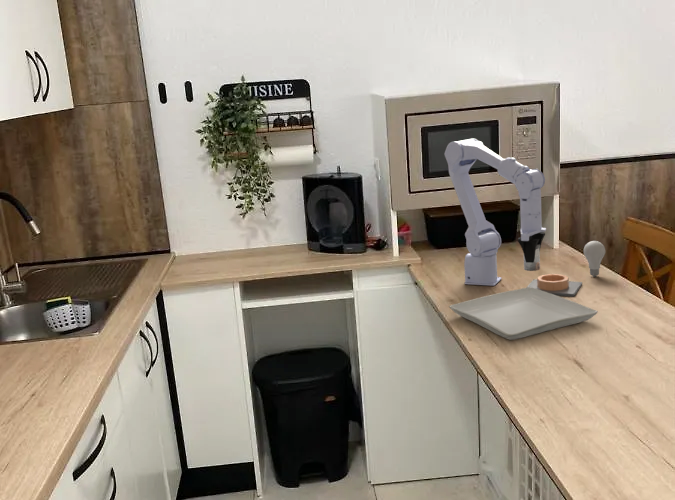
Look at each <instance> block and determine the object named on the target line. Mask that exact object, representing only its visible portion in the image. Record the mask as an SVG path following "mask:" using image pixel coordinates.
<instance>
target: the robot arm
mask: <svg viewBox="0 0 675 500" xmlns="http://www.w3.org/2000/svg"><path fill="white" fill-rule="evenodd" d="M443 155H444V158H445V159H446V162H447V165H448V174H449V178H450V179H451V183H452V185H453V188H454V190H455V194H456V196H457V199H458V201H459V203H460V207H461V210H462V212H463V215H464V217H465V220H466V223H467V225H468V226H467V229H466V231H465V233H464V236H465V239H466V243H465V244H466V245H465V246H466V249H467V250H468V253H467V254H465V257H464V265H463V266H464V267H463V268H464V285H476V286H491V287H492V286H496V285H497V284H498V283H499V282H500V281H501V280H502V277H500V276H498V262H497V253H498V252H499V251H498V249H499V248H500V247H501V245H502V238H501V235H500V233H499V232H498V231H497V230H496V227H495V225H494V224H493V223H491V222H490V221H488V220H486V217H485V214H484V212H483V209H482V206H481V204H480V201H479V197H478V195H477V192H476V190H475V188H474V187H475V186H474V185H473V181H472V179H471V177H470V174H469V172H470V170H471V168H472V166H473V165H474V164H475V163H476V161H477V160H478V161H481V162H482V163H484V164H487V165H489V166H490V167H492V168H494V169H496V170H497V174H498V176H500V177H502V178H504V180H507V181H508V182H510V183H512V184H514V185H515V189H516V190H517V192H518V197H519V205H520V206H519V208H520V209H519V210H520V230H519V231H520V237H518V238H517V242H518V243H519V245H520V247H521V250H522V253H523V258H524V257H525V260H526V262H529V263H533V262H534V259H535V251H536V246H537V244H540V248H539V250H540V251H541V247H542V243H543V239H544V237H545V236H546V231H547V228H546V227H543V224H542V221H543V219H542V190H541V189H543V187H544V186H545V182H546V177H545V175H544V173H543V172H542V171H541V170H540V169H539V168H530V167H529V166H527V165H524V164H522V163H520V162H518V161H517V158H515V157H506V158H503V157H502V156H501V155H499V154H497V153H496V152H494V151H493V150H492V149H489V148H488V147H487V146H485V145H484V143H483V142H482V141H480V140H478V139H477V138H473V137H471V138H468V139H463V140H458V141H451V142H449V143H448V144H447V146H446V148H445V151H444V154H443Z"/></svg>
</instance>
